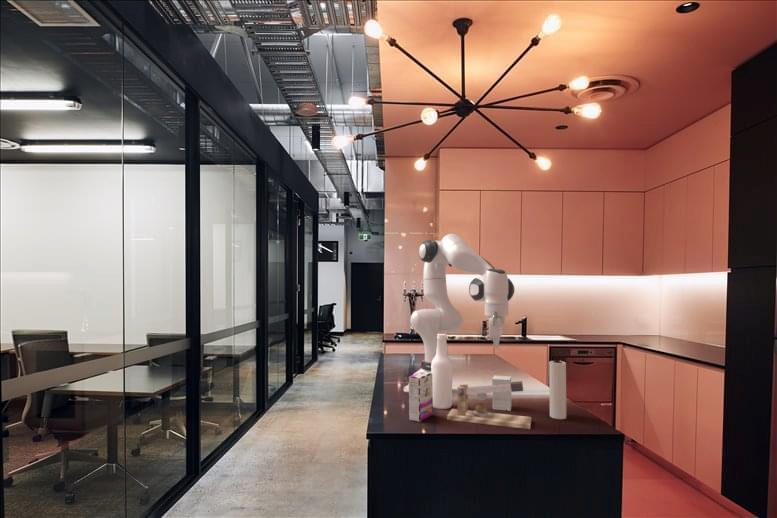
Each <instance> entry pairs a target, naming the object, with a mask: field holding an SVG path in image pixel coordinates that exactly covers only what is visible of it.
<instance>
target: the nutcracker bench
mask: <svg viewBox="0 0 777 518" xmlns="http://www.w3.org/2000/svg"><path fill="white" fill-rule="evenodd" d="M466 387H469V384H463V383H459V386H457V387H456V388H457V391H456V393H457V395H456V396H457V397H456V398H457V401H456V403H457V408H451V409H450V411H449V412H448V414H447V415H446V420H448V421H453V422H454V421H456V422H463V423H464V422H465V423H473V424H481V425H490V426H499V427H506V428H507V427H508V428H516V429H517V428H518V429H525V430H527V429H528V430H531V425H532V417H531V416H525V415H524V416H523V415H516V414H507V413H498V412H497V413H496V412H489V411H488V410H487V406H486V405H485V404H484V403H482V402H481V403H477V404H476V406H475V409H474V410H469V409H468V408H469V407H468V406H469V403H468V402H469V399H468V398H469V397H468V395H469V394H466Z"/></svg>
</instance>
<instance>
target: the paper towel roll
mask: <svg viewBox="0 0 777 518" xmlns="http://www.w3.org/2000/svg"><path fill="white" fill-rule="evenodd" d="M548 362H549V363H548V364H549V367H548V368H549V370H548V371H549V376H548V377H549V379H548V381H549V387H548V389H549V417H550V418H551V419H556V420H566V419H567V362H565V361H562V360H550V361H548Z"/></svg>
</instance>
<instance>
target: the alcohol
mask: <svg viewBox="0 0 777 518" xmlns="http://www.w3.org/2000/svg"><path fill="white" fill-rule="evenodd" d="M447 343H448V342H447V333H437V350H436V356H435V357H434V359H433V360H432V363H431V373H432V388H433V409H438V410H447V409H450V408H451V409H452V406H453V362H452V360H451V358H450V357H449V353H448V354H447V346H448V344H447Z"/></svg>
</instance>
